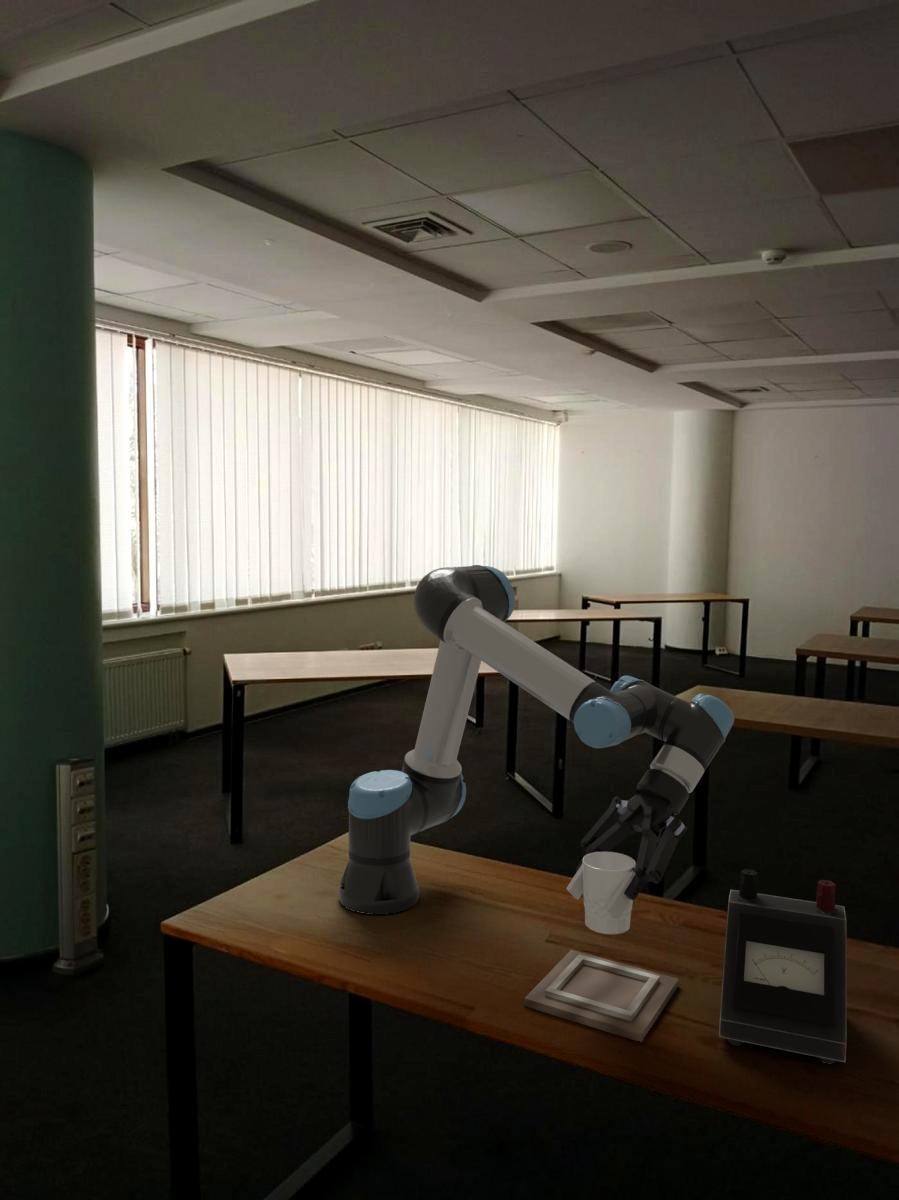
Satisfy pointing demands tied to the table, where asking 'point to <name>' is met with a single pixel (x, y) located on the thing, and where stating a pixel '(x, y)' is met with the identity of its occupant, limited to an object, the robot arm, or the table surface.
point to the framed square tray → (603, 994)
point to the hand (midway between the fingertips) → (591, 903)
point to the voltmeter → (785, 972)
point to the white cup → (605, 890)
